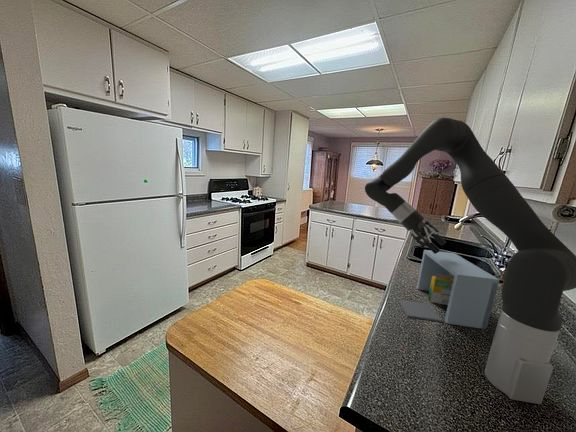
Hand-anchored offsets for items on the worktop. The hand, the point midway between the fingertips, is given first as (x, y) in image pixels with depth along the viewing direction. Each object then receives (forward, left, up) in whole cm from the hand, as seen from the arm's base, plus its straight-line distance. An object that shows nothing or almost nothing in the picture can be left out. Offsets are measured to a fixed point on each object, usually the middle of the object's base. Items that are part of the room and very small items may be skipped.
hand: (441, 248), depth 87 cm
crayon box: (+1, -4, -22) cm, 22 cm away
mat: (-8, +7, -22) cm, 24 cm away
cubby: (-1, -5, -22) cm, 22 cm away
